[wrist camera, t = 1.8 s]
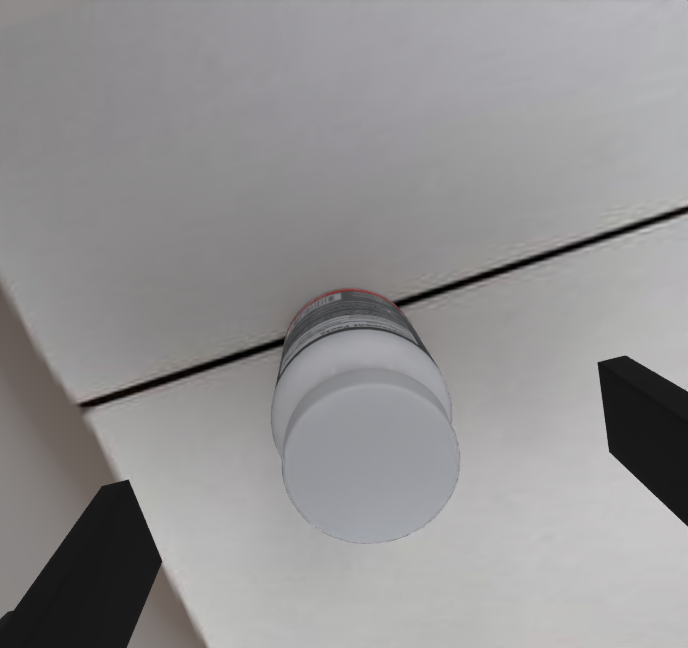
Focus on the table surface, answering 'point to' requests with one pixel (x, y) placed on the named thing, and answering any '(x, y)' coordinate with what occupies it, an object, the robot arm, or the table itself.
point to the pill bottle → (362, 420)
